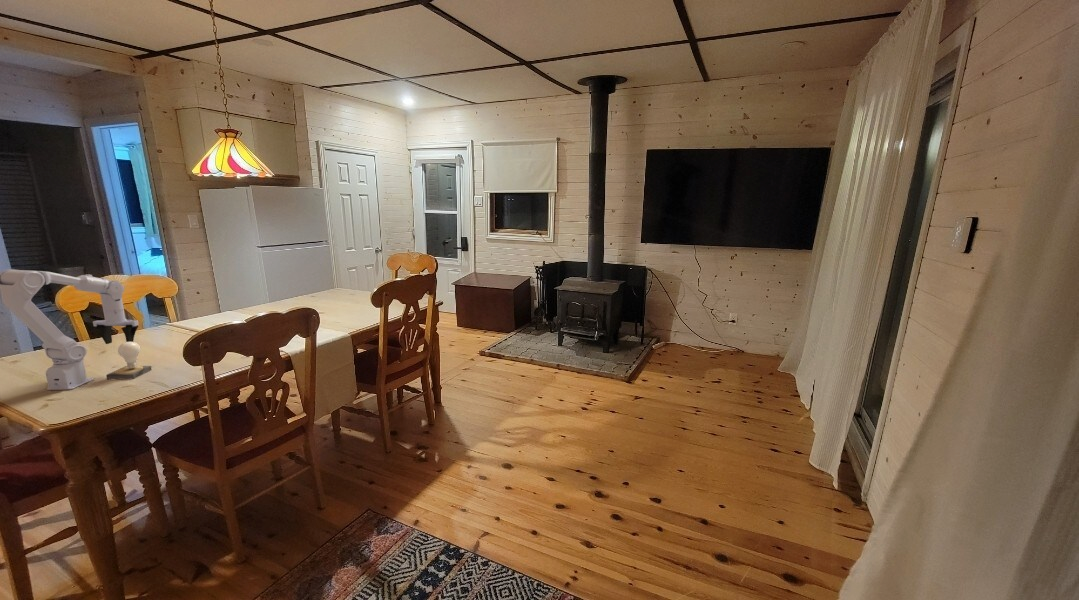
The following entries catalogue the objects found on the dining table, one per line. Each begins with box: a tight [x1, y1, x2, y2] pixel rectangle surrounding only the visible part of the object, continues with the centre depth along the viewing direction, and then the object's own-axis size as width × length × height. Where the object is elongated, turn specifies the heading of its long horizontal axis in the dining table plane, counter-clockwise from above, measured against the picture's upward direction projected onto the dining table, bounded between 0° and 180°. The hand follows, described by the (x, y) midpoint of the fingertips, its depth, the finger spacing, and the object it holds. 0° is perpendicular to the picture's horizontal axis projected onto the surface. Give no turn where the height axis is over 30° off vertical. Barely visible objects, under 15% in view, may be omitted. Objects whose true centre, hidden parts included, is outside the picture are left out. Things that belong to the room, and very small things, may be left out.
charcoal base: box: [105, 365, 152, 380], centre depth 165 cm, size 9×9×2 cm
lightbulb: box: [117, 341, 141, 369], centre depth 165 cm, size 6×6×11 cm
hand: (119, 343), depth 169 cm, fingers open, 7 cm apart
